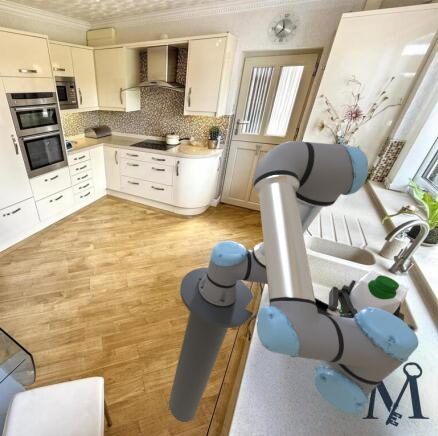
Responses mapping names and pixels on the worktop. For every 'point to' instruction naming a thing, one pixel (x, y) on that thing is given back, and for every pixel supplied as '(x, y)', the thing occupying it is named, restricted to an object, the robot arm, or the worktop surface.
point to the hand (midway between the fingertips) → (373, 294)
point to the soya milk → (377, 293)
